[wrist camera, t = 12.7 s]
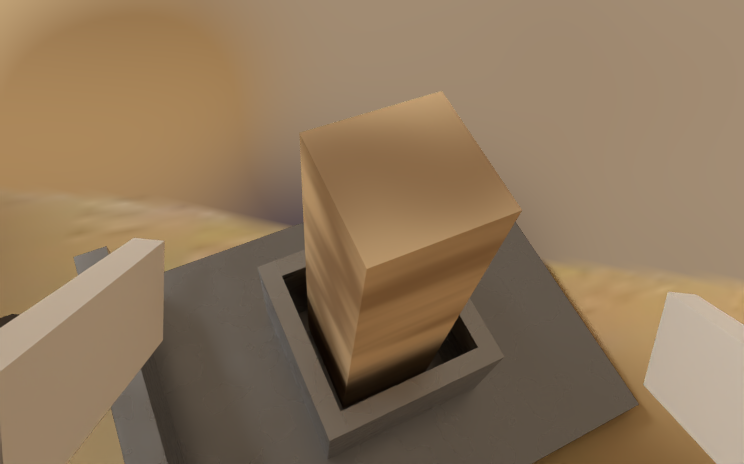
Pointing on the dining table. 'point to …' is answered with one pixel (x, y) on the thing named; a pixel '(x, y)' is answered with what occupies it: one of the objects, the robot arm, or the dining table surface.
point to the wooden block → (395, 238)
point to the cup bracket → (378, 412)
